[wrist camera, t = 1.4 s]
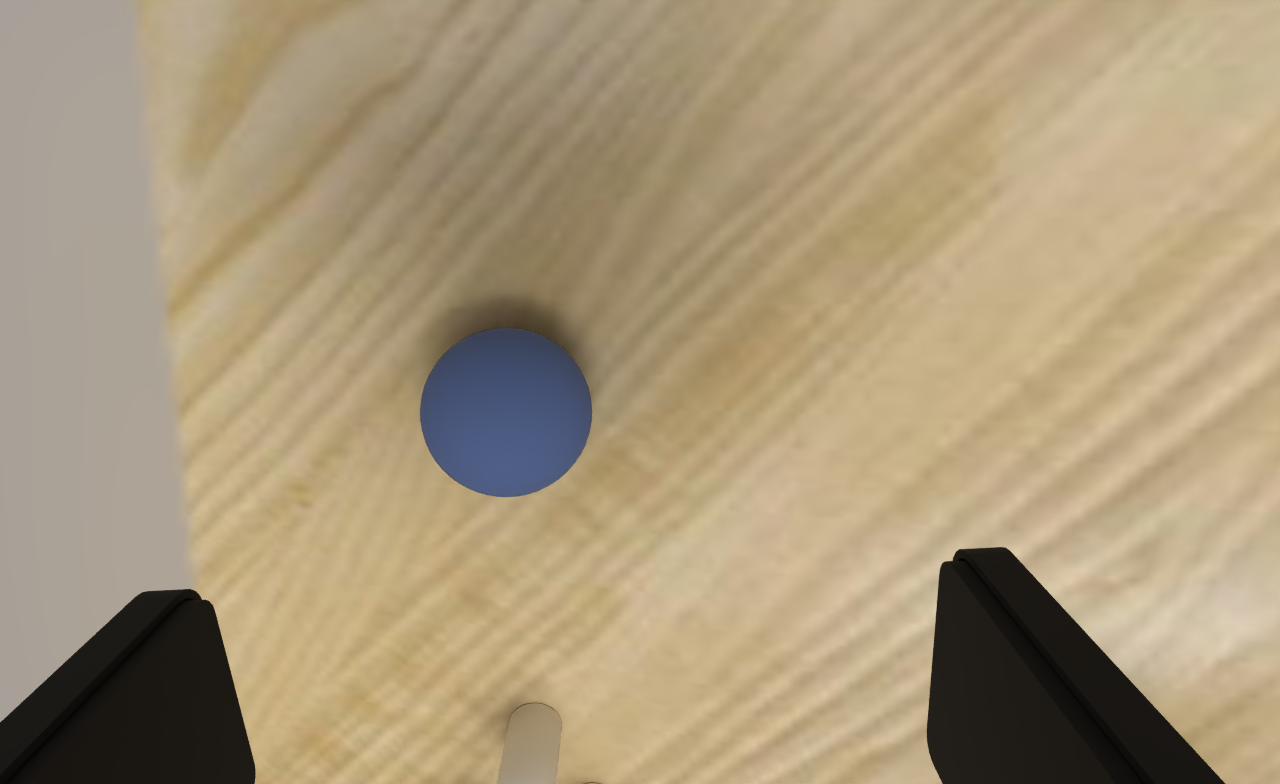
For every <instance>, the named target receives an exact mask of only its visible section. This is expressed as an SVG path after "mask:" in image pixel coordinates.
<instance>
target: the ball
mask: <svg viewBox="0 0 1280 784" xmlns="http://www.w3.org/2000/svg"><path fill="white" fill-rule="evenodd" d="M420 420H421V427H422V432H423V435H424V438H425V442H426V444H427V447H428V449H429V451H430V453H431V455H432V456H433V458H434V459H435V461H436V462H437V464H438V465H439V466H440V467H441V468H442V470H443V471H444V472H446V473H447V474H448V475H449V476H450V477H451V478H452V479H454V480H455V481H456V482H458V483H459V484H461V485H463V486H465V487H466V488H469V489H471V490H473V491H476V492H479V493H482V494H485V495H491V496H497V497H515V496H522V495H527V494H530V493H533V492H536V491H539V490H541V489H543V488H545V487H547V486H549V485H551V484H552V483H554V482H555V481H557V480H558V479H559V478H561V477H562V476H563V475H564V474H565V473H566V472H567V471H568V470H569V469H570V468H571V467H572V466H573V464H574V463H575V462H576V460H577V459H578V457H579V456H580V454H581V453H582V451H583V449H584V447H585V444H586V441H587V438H588V435H589V432H590V427H591V422H592V406H591V397H590V392H589V388H588V385H587V383H586V380H585V377H584V376H583V374H582V372H581V370H580V368H579V367H578V365H577V364H576V363H575V361H574V360H573V359H572V357H571V356H570V355H569V354H568V353H567V352H566V351H565V350H564V349H563V348H561V347H560V346H559V345H558V344H556V343H555V342H553V341H552V340H550V339H548V338H546V337H544V336H542V335H540V334H538V333H535V332H532V331H528V330H523V329H518V328H496V329H490V330H485V331H481V332H478V333H475V334H473V335H471V336H469V337H467V338H465V339H463V340H461V341H460V342H458V343H457V344H455V345H454V346H453V347H451V348H450V349H449V350H448V351H447V352H446V353H445V354H444V355H443V356H442V357H441V358H440V359H439V361H438V362H437V363H436V365H435V366H434V368H433V370H432V371H431V373H430V375H429V377H428V379H427V381H426V384H425V386H424V390H423V394H422V399H421V407H420Z"/></svg>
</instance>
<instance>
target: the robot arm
mask: <svg viewBox="0 0 1280 784" xmlns="http://www.w3.org/2000/svg"><path fill="white" fill-rule="evenodd" d="M927 743H928V748H929V753H930V756H931V760H932V762H933V764H934V767H935V769H936V771H937V773H938V775H939V777H940V779H941V781H942V783H943V784H1225V783H1224V782H1223V781H1222V780H1221V779H1220V777H1219V776H1218V775H1217V774H1216V773H1215V772H1214V771H1213V770H1212V769H1211V768H1210V767H1209V766H1208V764H1207V763H1206V762H1205V761H1204V760H1203V759H1202V758H1201V757H1200V756H1199V755H1198V754H1197V753H1196V751H1195V750H1194V749H1193V748H1192V747H1191V746H1190V745H1189V744H1188V743H1187V742H1186V741H1185V740H1184V738H1183V737H1182V736H1181V735H1180V734H1179V733H1178V732H1177V731H1176V730H1175V729H1174V728H1173V727H1172V726H1171V724H1170V723H1169V722H1168V721H1167V720H1166V719H1165V718H1164V717H1163V716H1162V715H1161V714H1160V713H1159V711H1158V710H1157V709H1156V708H1155V707H1154V706H1153V705H1152V704H1151V703H1150V702H1149V701H1148V700H1147V698H1146V697H1145V696H1144V695H1143V694H1142V693H1141V692H1140V691H1139V690H1138V689H1137V688H1136V687H1135V685H1134V684H1133V683H1132V682H1131V681H1130V680H1129V679H1128V678H1127V677H1126V676H1125V675H1124V674H1123V672H1122V671H1121V670H1120V669H1119V668H1118V667H1117V666H1116V665H1115V664H1114V663H1113V662H1112V661H1111V660H1110V658H1109V657H1108V656H1107V655H1106V654H1105V653H1104V652H1103V651H1102V650H1101V649H1100V648H1099V647H1098V645H1097V644H1096V643H1095V642H1094V641H1093V640H1092V639H1091V638H1090V637H1089V636H1088V635H1087V634H1086V632H1085V631H1084V630H1083V629H1082V628H1081V627H1080V626H1079V625H1078V624H1077V623H1076V622H1075V621H1074V619H1073V618H1072V617H1071V616H1070V615H1069V614H1068V613H1067V612H1066V611H1065V610H1064V609H1063V608H1062V607H1061V605H1060V604H1059V603H1058V602H1057V601H1056V600H1055V599H1054V598H1053V597H1052V596H1051V595H1050V594H1049V592H1048V591H1047V590H1046V589H1045V588H1044V587H1043V586H1042V585H1041V584H1040V583H1039V582H1038V581H1037V579H1036V578H1035V577H1034V576H1033V575H1032V574H1031V573H1030V572H1029V571H1028V570H1027V569H1026V568H1025V566H1024V565H1023V564H1022V563H1021V562H1020V561H1019V560H1018V559H1017V558H1016V557H1015V556H1014V555H1013V553H1012V552H1011V551H1009V550H1008V549H1007V548H1004V547H996V548H976V549H959V550H958V551H957V552H956V553H955V555H954V557H953V561H947V562H944V563H942V565H941V568H940V574H939V586H938V598H937V611H936V623H935V636H934V648H933V660H932V673H931V685H930V698H929V710H928V722H927ZM254 783H255V764H254V760H253V756H252V752H251V748H250V745H249V741H248V737H247V733H246V729H245V725H244V721H243V717H242V714H241V710H240V706H239V702H238V698H237V694H236V690H235V687H234V683H233V679H232V675H231V671H230V667H229V663H228V659H227V656H226V652H225V648H224V644H223V640H222V636H221V632H220V629H219V625H218V621H217V617H216V613H215V610H214V607H213V605H212V604H211V603H210V602H209V601H207V600H202V599H201V597H200V595H199V594H198V593H197V592H196V591H194V590H191V589H183V590H164V591H147V592H142V593H141V594H139V595H138V596H136V597H135V598H134V599H133V600H132V601H131V602H130V603H128V604H127V605H126V606H125V607H124V608H123V609H122V610H121V611H120V612H119V613H118V614H117V615H116V616H114V617H113V618H112V619H111V620H110V621H109V622H108V623H107V624H106V625H105V626H104V627H103V628H102V629H100V630H99V631H98V632H97V633H96V634H95V635H94V636H93V637H92V638H91V639H90V640H89V641H88V642H87V643H85V644H84V645H83V646H82V647H81V648H80V649H79V650H78V651H77V652H76V653H75V654H74V655H72V656H71V658H69V659H68V660H67V661H66V662H65V663H64V664H63V665H62V666H61V667H60V668H58V669H57V670H56V671H55V672H54V673H53V674H52V675H51V676H50V677H49V678H48V679H47V680H46V681H45V682H44V683H42V684H41V685H40V686H39V687H38V688H37V689H36V690H35V691H34V692H33V693H32V694H31V695H29V697H27V698H26V699H25V700H24V701H23V702H22V703H21V704H20V705H19V706H18V707H16V709H14V710H13V711H12V712H11V713H10V714H9V715H8V716H7V717H6V718H5V719H4V720H2V721H1V722H0V784H254Z"/></svg>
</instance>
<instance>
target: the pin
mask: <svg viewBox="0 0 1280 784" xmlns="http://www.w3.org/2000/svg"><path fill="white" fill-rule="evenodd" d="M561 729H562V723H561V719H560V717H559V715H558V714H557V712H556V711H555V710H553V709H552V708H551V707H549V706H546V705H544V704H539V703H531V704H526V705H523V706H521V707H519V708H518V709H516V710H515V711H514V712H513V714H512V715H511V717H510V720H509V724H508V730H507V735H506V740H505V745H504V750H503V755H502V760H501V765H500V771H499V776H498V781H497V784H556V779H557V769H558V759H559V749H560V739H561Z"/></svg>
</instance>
